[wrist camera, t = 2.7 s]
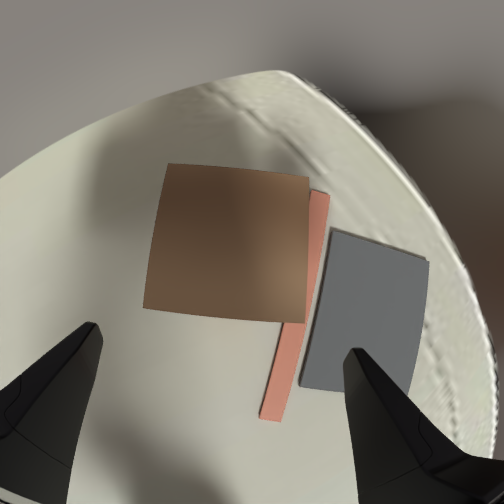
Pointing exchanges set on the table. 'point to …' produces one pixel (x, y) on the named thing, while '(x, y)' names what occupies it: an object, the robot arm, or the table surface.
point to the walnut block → (230, 244)
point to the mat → (367, 312)
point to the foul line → (295, 331)
